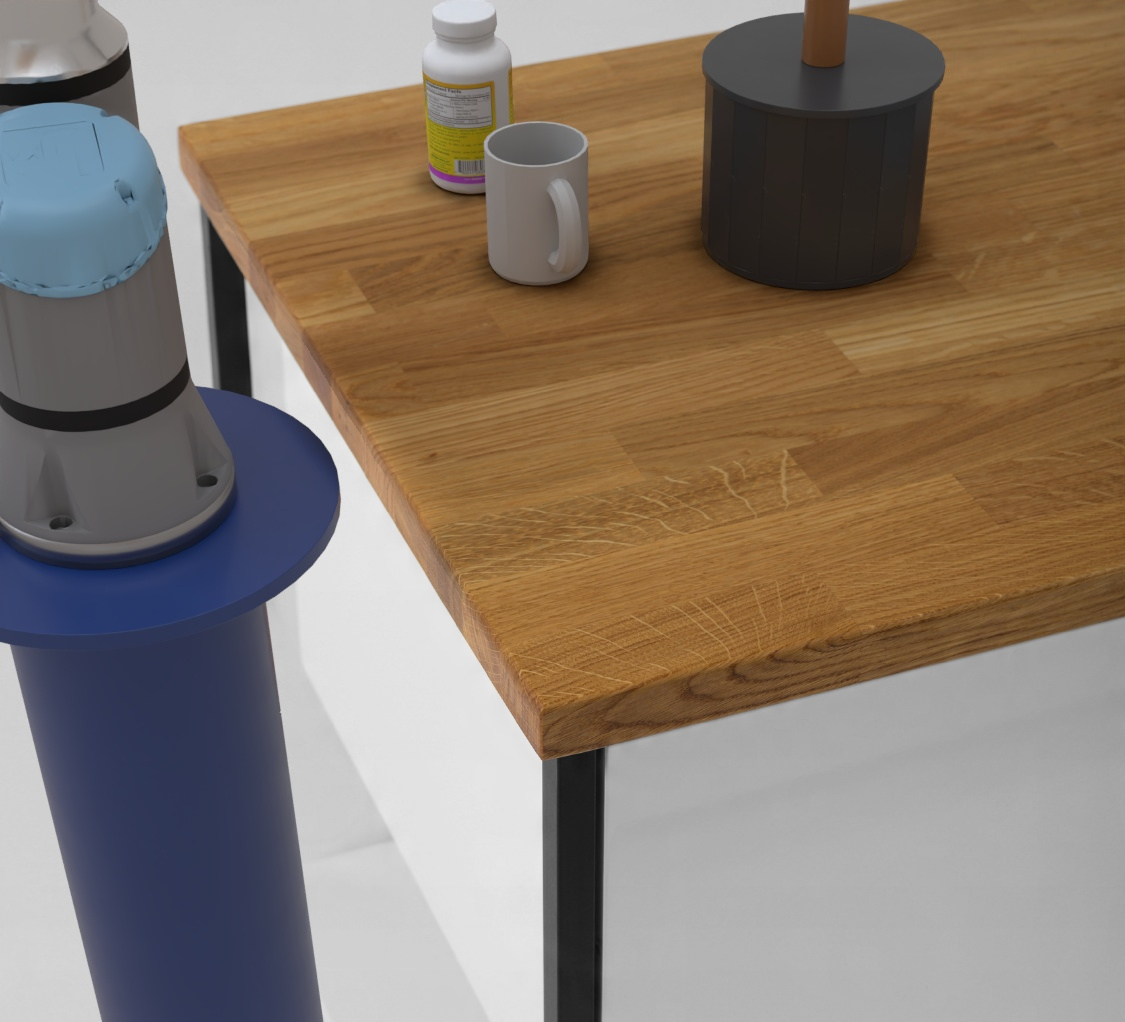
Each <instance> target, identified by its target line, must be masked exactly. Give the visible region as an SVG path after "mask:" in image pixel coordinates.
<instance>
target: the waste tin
mask: <svg viewBox="0 0 1125 1022" xmlns="http://www.w3.org/2000/svg"><path fill="white" fill-rule="evenodd" d="M704 87H705V90H704V119H703V120H704V121H703V146H702V147H703V152H702V157H703V158H702V178H701V180H702V181H701V209H700V211H701V212H700V231H701V238H702V244H703V246H704V248H705V251H706V252H707V254H708V255H709V256H710V257H711V258H712V260H714V261H715V262H716V263H717V264H718V265H719V266H721V267H723V268H725V269H726V270H727V271H730V272H731V273H733V274H735V275H737V276H740V277H741V278H744V279H747V280H750V281H753V282H757V283H759V284H762V285H763V284H764V285H767V286H772V287H778V288H785V289H794V290H804V291H805V290H807V291H824V290H825V291H826V290H837V289H847V288H853V287H858V286H863V285H867V284H870V283H874V282H876V281H880V280H882V279H885V278H886V277H889V276H892V275H894V274H895V273H896V272H898V271H899V270H901V269H902V268H903V267H904V266H906V265H907V264H908V263H909V262H910V261H911V259H913V257H914V255H915V253H916V251H917V247H918V242H919V235H920V229H921V219H922V210H923V201H924V194H925V193H924V191H925V183H926V176H927V175H926V172H927V164H928V155H929V145H930V137H931V128H932V119H933V111H934V110H933V109H934V101H935V91H936V90H935V91H934V92H933V93H932V94H931V95H929V96H928V97H927V98H925V99H923V100H921V101H920V102H918V103H916V104H913V105H911V106H908V107H906V108H903V109H900V110H896V111H893V112H889V113H884V114H880V115H874V116H867V117H859V118H848V119H812V118H800V117H792V116H785V115H779V114H774V113H769V112H765V111H761V110H757V109H754V108H751V107H748V106H745V105H742V104H740V103H737V102H735V101H733V100H731V99H729V98H727V97H725V96H724V95H722V94H721V93H719V92H718V91H717V90H715V89H714V88H713V87H712V86H711V85H710V84H709V83H708V82H707V80H706V79H705V86H704Z"/></svg>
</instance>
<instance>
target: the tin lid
mask: <svg viewBox="0 0 1125 1022" xmlns="http://www.w3.org/2000/svg"><path fill="white" fill-rule="evenodd" d="M850 2H851V0H804V7H803V8H804V9H803V11H801V12H789V13H782V14H775V15H774V14H773V15H768V16H763V17H758V18H755V19H751V20H747V21H744V22H741V23H737V24H736V25H733V26H731V27H728V28H726V29H725V30H723V31H721V32H720V33H718V34H717V35H715V36H714V37H713V38H711V40H709V42H708V43H707V45H706V46H705V48H704V50H703V52H702V55H701V71H702V75H703V77H704V79H705V81H706V80H707V82H708V83H709V84H710V85H711V86H712V87H713V88H714V89H715V90H717V91H718V92H719V93H721V94H722V95H724V96H725V97H727V98H729V99H731V100H733V101H735V102H737V103H740V104H742V105H745V106H748V107H751V108H754V109H757V110H761V111H765V112H769V113H774V114H779V115H785V116H792V117H800V118H812V119H848V118H859V117H867V116H874V115H880V114H884V113H889V112H893V111H896V110H900V109H903V108H906V107H908V106H911V105H913V104H916V103H918V102H920V101H921V100H923V99H925V98H927V97H928V96H929V95H931V94H932V93H933V92H934V91H936V90H938V88H939V87H940V86H941V84H942V82H943V81H944V78H945V74H946V73H945V71H946V60H945V56H944V53H943V52H942V51H941V49H940V48H939V47H938V46H937V45H936V43H934V42H933V41H932V40H931V39H930V38H928V37H927V36H925V35H923V34H922V33H920V32H917V31H916V30H915V29H912V28H909V27H907V26H904V25H902V24H898V23H896V22H893V21H890V20H885V19H882V18H877V17H874V16H873V17H872V16H867V15H863V14H855V13H854V14H853V13H850ZM934 93H935V92H934Z"/></svg>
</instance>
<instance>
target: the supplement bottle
mask: <svg viewBox="0 0 1125 1022" xmlns="http://www.w3.org/2000/svg"><path fill="white" fill-rule="evenodd" d="M431 23H432V30H433V31H434V34H435V35H436V38H434V39H433V40H431V41H430V42H429V43H428V44H427V45H426V46H425V48H424V50H423V52H422V56H421V69H422V70H421V71H422V84H423V94H424V95H423V99H424V112H425V113H424V114H425V128H426V129H425V130H426V145H427V157H428V168H429V170H428V171H429V175H430V178H431V179H432V181H433V182H434V183H435V184H436V185H437V186H438V187H440V188H442V189H443V190H446V191H449V192H453V193H457V194H463V195H464V194H465V195H475V194H476V195H477V194H486V185H485V161H484V141H485V139H486V138H487V136H488V135H490V134H491V133H492V132H493V131H495V130H497V129H500V128H502V127H504V126H508V125H511V124H515V114H514V90H513V64H512V63H513V62H512V60H513V59H512V52H511V50H510V48H509V47H508V45H507V44H506V43H505V41H504V40H502V39H501V38H500V37H499V36H497V35H495V32H496V29H497V27H498V18H497V8H496V6H495V5H494V4H493V3H492V2H489V1H487V0H444V1H442V2H440V3H438V4H436V5H435V6H434V7H433V8H432V10H431Z"/></svg>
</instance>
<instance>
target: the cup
mask: <svg viewBox="0 0 1125 1022" xmlns="http://www.w3.org/2000/svg"><path fill="white" fill-rule="evenodd" d="M588 140H589V139H588V138H587V136H586V135H585V134H584V133H583V132H582V131H580V130H579V129H578V128H575V127H573V126H570V125H567V124H565V123H559V122H554V121H543V120H538V121H537V120H536V121H535V120H534V121H523V122H514V124H511V125H508V126H504V127H502V128H500V129H497V130H495V131H493V132H492V133H491V134H490V135H488V136H487V138H486V139H485V141H484V161H485V185H486V192H485V206H486V207H485V208H486V231H487V253H488V262H489V265H490V266H491V268H492V269H493V271H494V272H495V273H496V274H497V275H498V276H499V277H501V278H502V279H504V280H507V281H508V282H512V283H516V284H520V285H525V286H549V285H555V284H560V283H563V282H566V281H569V280H571V279H572V278H574V277H576V276H578V275H579V274H580V273H581V272H583V270H584V268H585V267H586V265H587V263H588V260H589V253H590V252H589V250H590V248H589V247H590V246H589V242H590V241H589V239H590V238H589V237H590V236H589V230H590V229H589V221H590V220H589V141H588Z"/></svg>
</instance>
